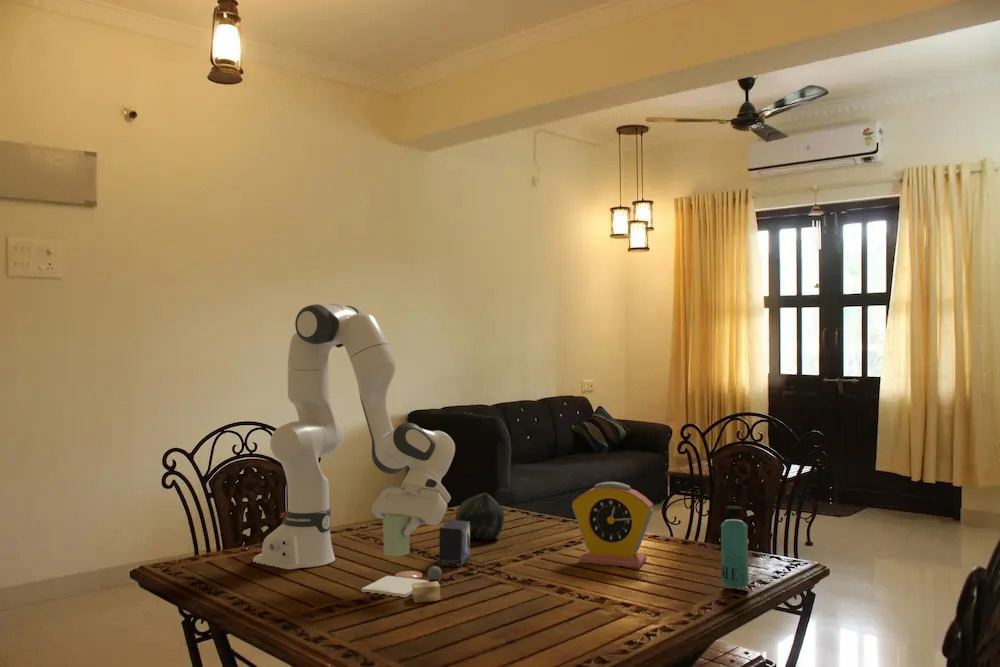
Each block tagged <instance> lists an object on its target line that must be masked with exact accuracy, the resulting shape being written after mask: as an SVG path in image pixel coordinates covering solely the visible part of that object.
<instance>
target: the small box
mask: <svg viewBox="0 0 1000 667" xmlns="http://www.w3.org/2000/svg"><path fill="white" fill-rule="evenodd" d="M438 534H439V550H438V552H439V553H438V556H439V557H438V567H449V566H452V567H451V568H453V567H454V568H461V567H463V565H465V563H467V561H468V560H470V558H471V547H470V546H471V541H470V540H471V538H470V521H457V520H455V519H449V520H448V521H446V522H445V523H444V524H442V525H441V526H440V527H439V533H438Z"/></svg>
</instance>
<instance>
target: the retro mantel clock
mask: <svg viewBox="0 0 1000 667" xmlns="http://www.w3.org/2000/svg"><path fill="white" fill-rule="evenodd" d="M571 503H572V505H571V508H572V510H573V513H574V516H575V519H576V522H577V525H578V527H579V531H580V532H581V536H582V539H583V542H584V544H585V546H586V549H587V550H586V551H585V552H584V553H583V554H582V555H580V556H579V557H578V562H579V563H580V562H581V563H580V564H587V563H594V564H593V565H598V564H603V565H602V566H608V565H611V567H619V566H623V567H622V568H629V567H635V568H634V569H639V568H640V567H641V566H643V564H644V563H645V562H646V561H647V559H648V558H647V557H648V556H647V554H646V553H638V551H639V550H640V548H641V545H642V542H643V539H644V537H645V534H646V531H647V528H648V527H649V526H648V525H649V523H650V520H651V519H652V518H651V517H652V516H653V515H652V514H653V512H654V509H655V508H654V503H653V502H652V501H651V500H649V499H648V497H646V496H645V495H644V494H642V493H640V492H639V491H638V490H636V489H633V488H631V486H630V485H629V484H625V483H623V482H618V481H604V482H599V483H597V484H594V486H593V487H592V488H590V489H589V490H587V491H585V492H584V493H582V494H580V495H579V496H577V497H576V498H575V499H573V501H572V502H571ZM636 567H637V568H636Z"/></svg>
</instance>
